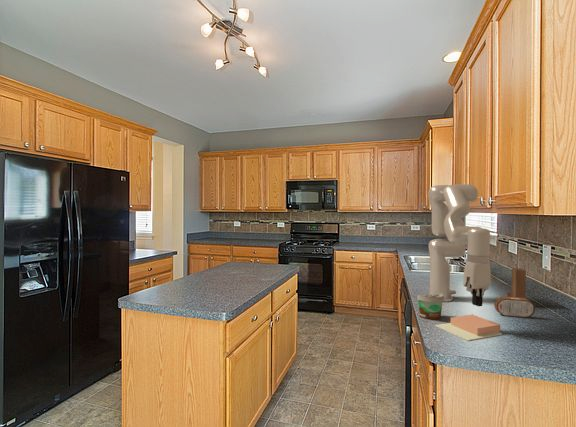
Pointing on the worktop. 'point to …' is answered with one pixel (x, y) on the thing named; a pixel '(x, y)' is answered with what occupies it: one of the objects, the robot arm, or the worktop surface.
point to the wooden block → (518, 283)
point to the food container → (430, 306)
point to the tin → (514, 307)
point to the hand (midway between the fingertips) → (477, 305)
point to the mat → (464, 332)
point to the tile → (475, 324)
